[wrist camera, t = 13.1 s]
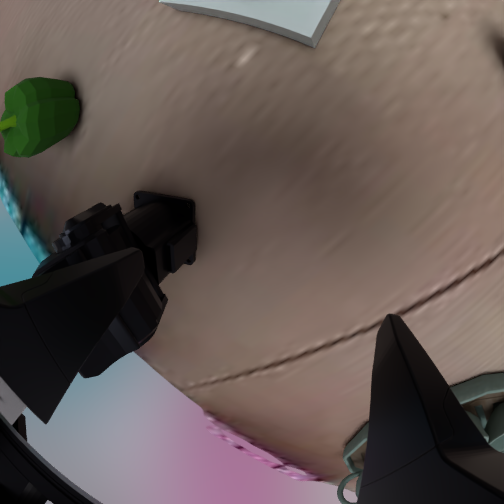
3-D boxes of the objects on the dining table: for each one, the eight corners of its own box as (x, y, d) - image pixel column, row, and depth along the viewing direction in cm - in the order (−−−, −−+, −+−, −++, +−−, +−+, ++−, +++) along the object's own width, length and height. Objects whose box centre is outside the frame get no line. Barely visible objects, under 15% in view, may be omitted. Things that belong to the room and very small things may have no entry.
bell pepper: (92, 68, 19) (8, 77, 11) (89, 143, 24) (10, 172, 15) (50, 78, 21) (-19, 92, 12) (49, 141, 25) (-16, 167, 17)
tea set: (536, 416, 23) (544, 475, 10) (390, 476, 45) (382, 530, 31) (544, 316, 17) (587, 425, 3) (300, 427, 38) (275, 515, 24)
